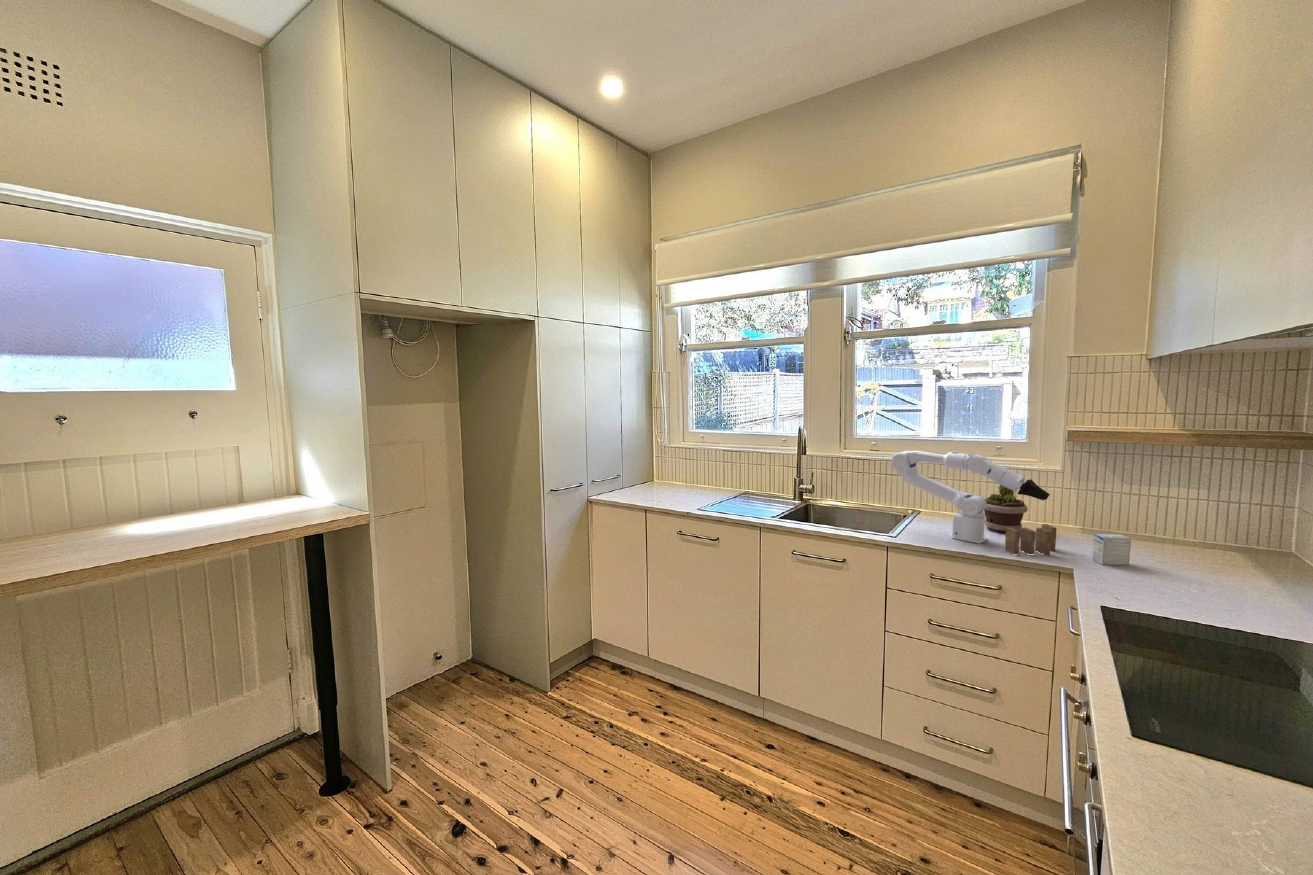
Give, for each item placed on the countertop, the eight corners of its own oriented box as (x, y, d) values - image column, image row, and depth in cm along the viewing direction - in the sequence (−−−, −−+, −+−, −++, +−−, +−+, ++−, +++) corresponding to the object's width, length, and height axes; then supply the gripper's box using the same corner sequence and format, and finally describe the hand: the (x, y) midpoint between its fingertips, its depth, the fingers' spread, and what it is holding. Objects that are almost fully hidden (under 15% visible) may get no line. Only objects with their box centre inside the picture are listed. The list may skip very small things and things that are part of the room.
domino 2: (1028, 555, 174) (1030, 531, 173) (1019, 550, 179) (1021, 527, 178) (1034, 555, 174) (1035, 531, 173) (1024, 550, 179) (1026, 527, 178)
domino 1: (1013, 555, 174) (1014, 531, 174) (1004, 550, 179) (1006, 527, 179) (1018, 555, 174) (1020, 531, 174) (1009, 550, 179) (1011, 527, 179)
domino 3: (1044, 555, 174) (1045, 531, 173) (1034, 551, 179) (1036, 527, 178) (1049, 555, 174) (1051, 531, 173) (1040, 551, 178) (1041, 527, 178)
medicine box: (1118, 561, 168) (1120, 534, 167) (1129, 565, 163) (1131, 538, 163) (1091, 560, 169) (1093, 533, 168) (1101, 565, 164) (1103, 537, 163)
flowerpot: (1019, 538, 194) (1022, 483, 192) (973, 529, 205) (975, 478, 203) (1031, 530, 203) (1034, 478, 201) (986, 523, 215) (989, 474, 213)
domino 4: (1050, 551, 178) (1051, 527, 177) (1040, 546, 183) (1042, 523, 182) (1055, 551, 178) (1056, 527, 177) (1045, 546, 183) (1046, 524, 182)
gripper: (1007, 466, 177) (1052, 487, 169) (1013, 466, 188) (1055, 486, 180) (995, 484, 179) (1039, 506, 171) (1002, 484, 190) (1043, 504, 182)
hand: (1047, 497), depth 176 cm, fingers open, 7 cm apart
